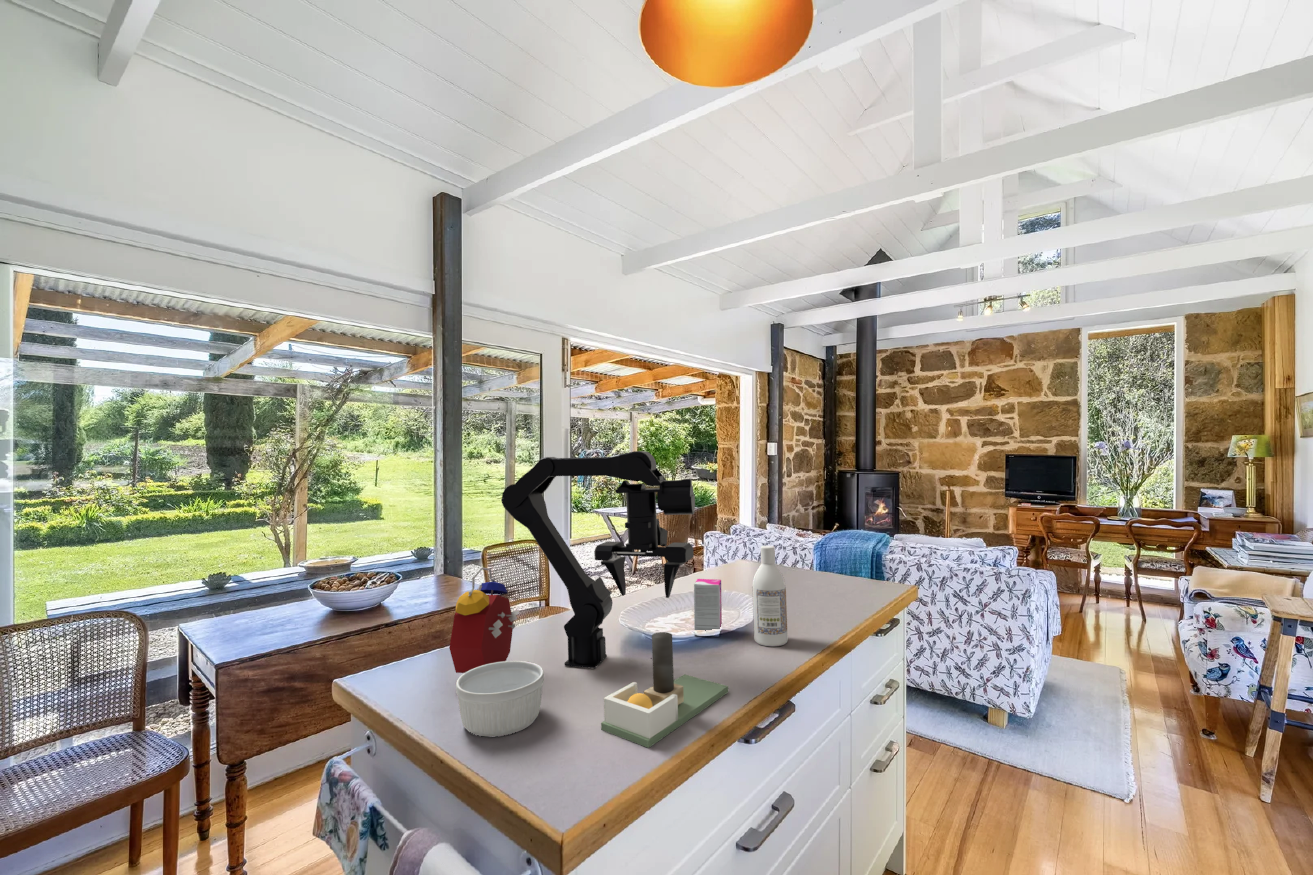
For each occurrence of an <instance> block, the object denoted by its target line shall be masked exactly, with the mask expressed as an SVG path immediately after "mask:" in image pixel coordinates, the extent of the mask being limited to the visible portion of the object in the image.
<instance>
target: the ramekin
mask: <svg viewBox="0 0 1313 875" xmlns="http://www.w3.org/2000/svg"><path fill="white" fill-rule="evenodd" d="M544 682H545V672H544V670H543V668H542V666H541V665H539V664H537V663H534V662H530V661H525V660H506V661H503V662H496V663H490V664H486V665H482V666H479V667H476V668H474V669H471V670H469V671H467V672H466V673H462V674H461V675H460V676H459V677H458V679H457V680H456V683H455V694H456V695H457V700H458V708H459V713H460V719H461V723H462V726H464V728H465V730H467V731H468V732H469V733H470V732H471V733H470V734H472V733H473V734H472V735H474V734H476V735H475V736H477V735H479V736H478V737H481V736H498V737H504V735H505V736H508V734H509V735H513V734H515V732H516V733H518V732H521V731H522V730H524V729H526V728H528V727H530V725H532V724H533V723H534V722H535V720H536V719H537V717H538V716H539V714H540V710H541V705H542V695H543V694H542V693H543V683H544ZM512 733H513V734H512Z"/></svg>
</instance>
